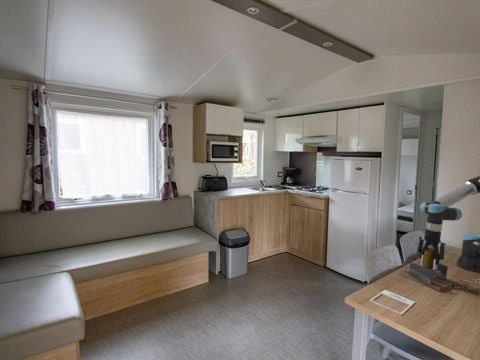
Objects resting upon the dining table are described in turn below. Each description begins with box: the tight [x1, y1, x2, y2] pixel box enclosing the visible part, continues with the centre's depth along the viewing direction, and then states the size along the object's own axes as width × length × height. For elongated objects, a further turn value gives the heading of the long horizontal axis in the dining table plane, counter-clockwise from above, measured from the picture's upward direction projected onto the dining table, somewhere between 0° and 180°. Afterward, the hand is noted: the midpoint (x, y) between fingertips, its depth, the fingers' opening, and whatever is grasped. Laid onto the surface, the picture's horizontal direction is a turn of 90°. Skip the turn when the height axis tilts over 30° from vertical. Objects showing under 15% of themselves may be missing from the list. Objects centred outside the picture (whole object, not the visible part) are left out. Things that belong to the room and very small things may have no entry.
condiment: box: [422, 247, 441, 272], centre depth 159 cm, size 7×8×12 cm
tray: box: [399, 261, 457, 293], centre depth 161 cm, size 18×22×10 cm
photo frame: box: [369, 289, 416, 316], centre depth 135 cm, size 15×1×18 cm
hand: (428, 267), depth 161 cm, fingers closed on condiment, 6 cm apart
